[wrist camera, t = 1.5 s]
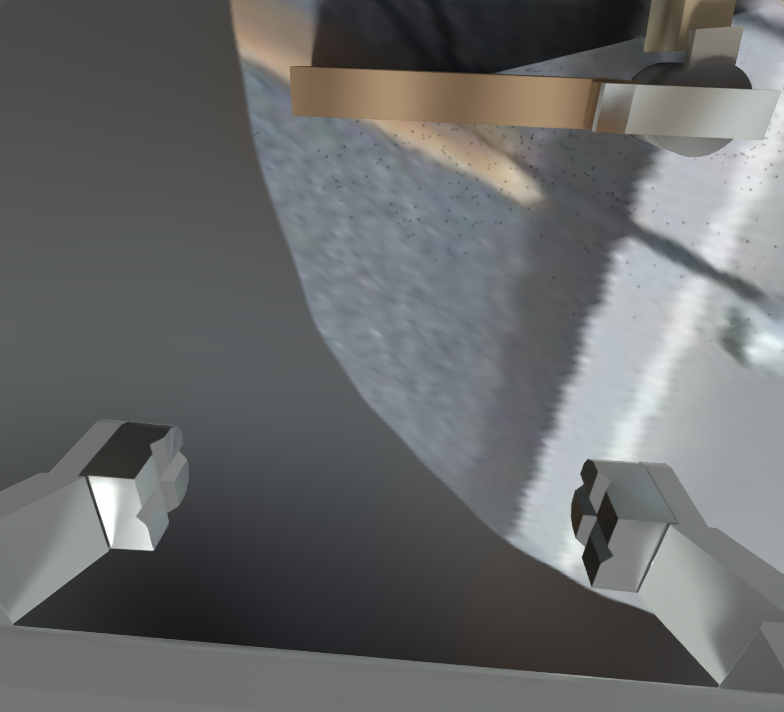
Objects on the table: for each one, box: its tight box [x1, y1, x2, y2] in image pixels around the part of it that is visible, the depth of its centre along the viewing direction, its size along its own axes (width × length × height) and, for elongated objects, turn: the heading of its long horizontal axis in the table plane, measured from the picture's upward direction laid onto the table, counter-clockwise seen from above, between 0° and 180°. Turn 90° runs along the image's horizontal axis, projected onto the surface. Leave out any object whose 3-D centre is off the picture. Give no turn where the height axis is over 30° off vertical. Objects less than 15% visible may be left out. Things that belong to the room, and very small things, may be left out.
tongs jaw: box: [290, 66, 781, 140], centre depth 24 cm, size 20×2×6 cm, turn 88°
